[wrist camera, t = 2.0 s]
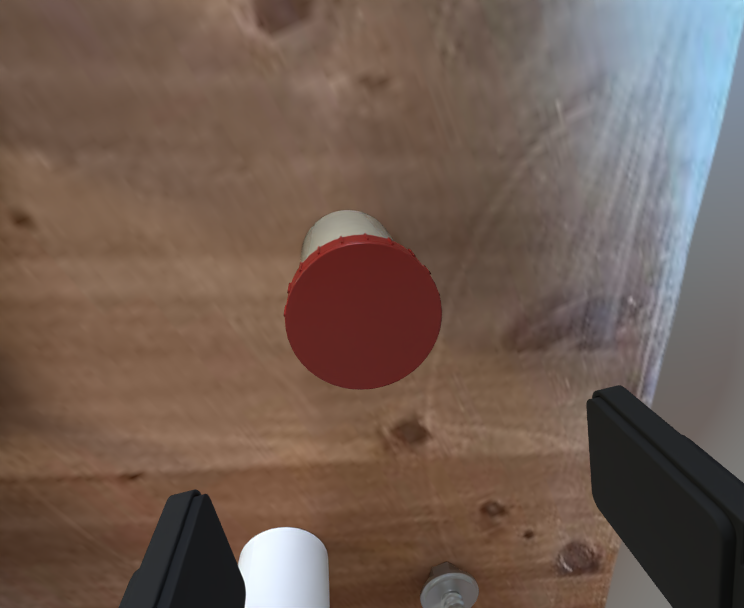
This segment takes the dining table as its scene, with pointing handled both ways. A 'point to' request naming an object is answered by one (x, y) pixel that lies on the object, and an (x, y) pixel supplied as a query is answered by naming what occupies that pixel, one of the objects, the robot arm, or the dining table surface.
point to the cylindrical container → (285, 570)
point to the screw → (449, 588)
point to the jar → (341, 229)
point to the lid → (362, 312)
